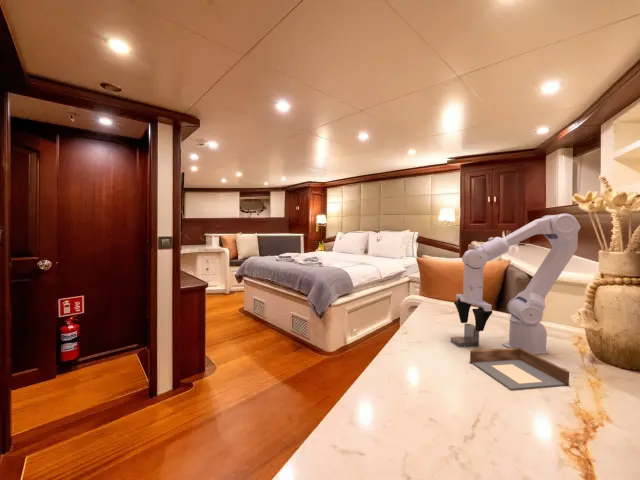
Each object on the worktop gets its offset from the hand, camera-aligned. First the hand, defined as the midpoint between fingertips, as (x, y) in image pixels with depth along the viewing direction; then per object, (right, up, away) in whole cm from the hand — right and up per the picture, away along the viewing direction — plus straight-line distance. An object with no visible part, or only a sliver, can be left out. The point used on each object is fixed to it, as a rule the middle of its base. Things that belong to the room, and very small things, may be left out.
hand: (471, 326), depth 92 cm
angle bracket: (-2, -6, 0) cm, 6 cm away
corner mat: (+1, -6, -19) cm, 20 cm away
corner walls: (+1, -6, -19) cm, 20 cm away
